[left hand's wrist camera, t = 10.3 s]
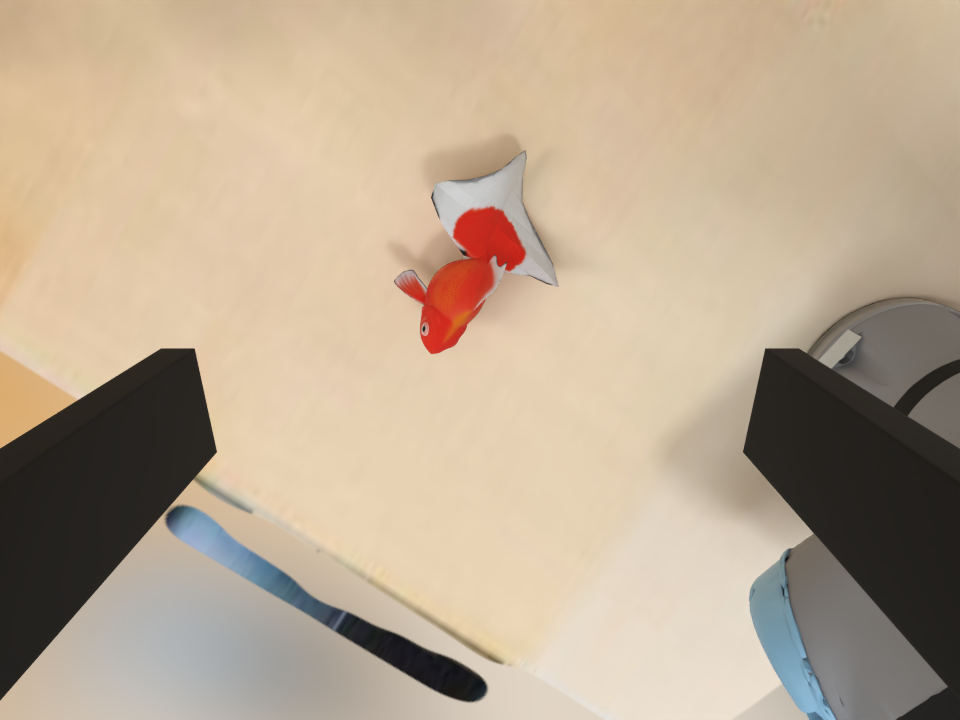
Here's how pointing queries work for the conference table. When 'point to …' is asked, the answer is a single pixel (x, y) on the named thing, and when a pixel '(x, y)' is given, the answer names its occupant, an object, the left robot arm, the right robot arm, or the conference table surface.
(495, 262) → the fish
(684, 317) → the conference table surface
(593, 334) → the conference table surface
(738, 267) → the conference table surface
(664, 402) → the conference table surface
